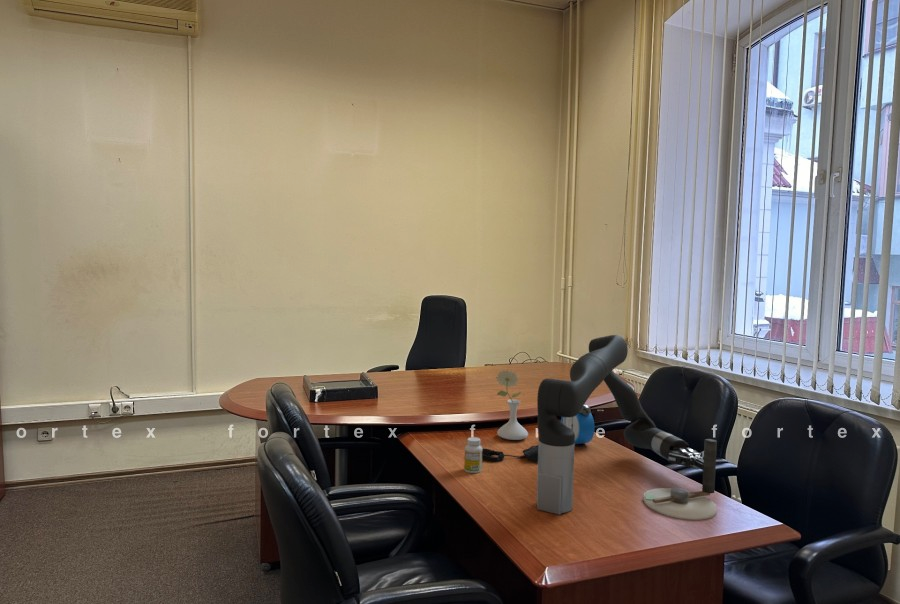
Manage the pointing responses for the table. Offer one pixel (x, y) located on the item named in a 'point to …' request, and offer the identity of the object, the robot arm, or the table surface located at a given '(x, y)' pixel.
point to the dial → (708, 477)
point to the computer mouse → (529, 454)
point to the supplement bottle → (473, 456)
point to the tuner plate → (680, 505)
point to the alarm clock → (581, 425)
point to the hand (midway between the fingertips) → (708, 467)
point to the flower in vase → (512, 427)
